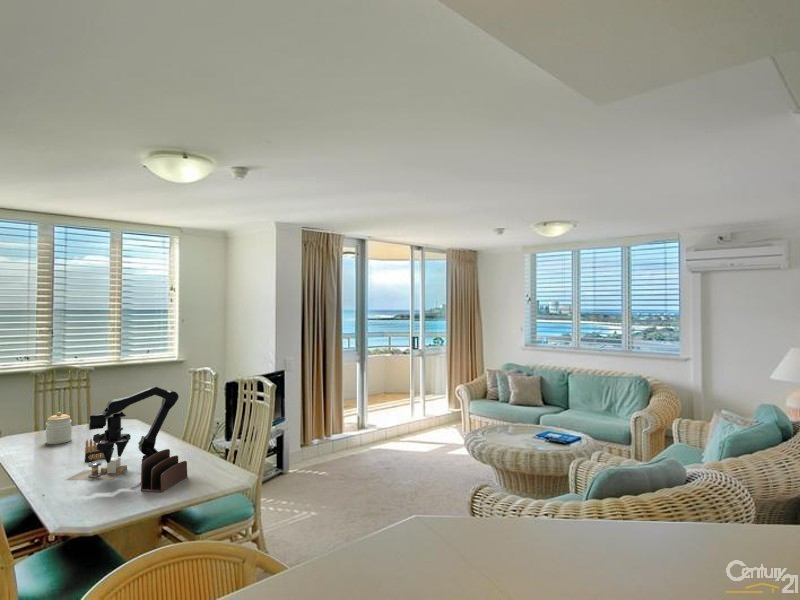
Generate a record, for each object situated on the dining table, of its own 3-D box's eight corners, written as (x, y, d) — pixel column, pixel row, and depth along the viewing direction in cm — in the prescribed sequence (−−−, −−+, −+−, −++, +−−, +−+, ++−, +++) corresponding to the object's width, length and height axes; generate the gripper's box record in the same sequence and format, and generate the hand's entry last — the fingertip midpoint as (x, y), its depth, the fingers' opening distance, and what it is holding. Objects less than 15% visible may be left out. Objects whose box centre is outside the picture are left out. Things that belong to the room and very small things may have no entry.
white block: (120, 470, 236) (120, 457, 237) (115, 473, 232) (115, 460, 233) (112, 470, 236) (112, 457, 237) (107, 473, 232) (107, 460, 233)
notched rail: (127, 470, 237) (127, 464, 237) (121, 473, 232) (121, 468, 232) (107, 470, 237) (107, 464, 237) (100, 473, 232) (100, 468, 232)
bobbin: (103, 473, 232) (103, 462, 232) (97, 477, 226) (97, 465, 226) (92, 473, 232) (92, 462, 232) (85, 477, 226) (85, 465, 226)
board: (127, 472, 237) (127, 469, 237) (110, 483, 223) (110, 479, 223) (84, 473, 237) (84, 469, 237) (64, 483, 223) (64, 480, 223)
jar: (41, 445, 287) (41, 414, 287) (51, 439, 299) (51, 410, 299) (66, 443, 290) (66, 413, 290) (75, 438, 302) (75, 409, 302)
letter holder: (140, 492, 213) (140, 459, 213) (168, 476, 233) (168, 446, 233) (161, 493, 212) (161, 460, 212) (187, 477, 231) (187, 447, 232)
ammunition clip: (85, 463, 252) (85, 440, 252) (84, 462, 254) (84, 439, 254) (108, 459, 259) (109, 436, 259) (108, 458, 261) (108, 435, 261)
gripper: (108, 422, 245) (108, 453, 244) (84, 431, 226) (84, 465, 226) (131, 422, 245) (131, 453, 244) (109, 431, 226) (109, 465, 226)
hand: (114, 459), depth 235 cm, fingers open, 9 cm apart
